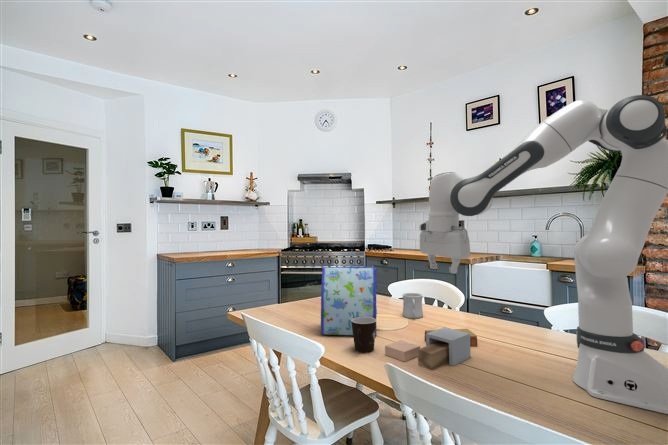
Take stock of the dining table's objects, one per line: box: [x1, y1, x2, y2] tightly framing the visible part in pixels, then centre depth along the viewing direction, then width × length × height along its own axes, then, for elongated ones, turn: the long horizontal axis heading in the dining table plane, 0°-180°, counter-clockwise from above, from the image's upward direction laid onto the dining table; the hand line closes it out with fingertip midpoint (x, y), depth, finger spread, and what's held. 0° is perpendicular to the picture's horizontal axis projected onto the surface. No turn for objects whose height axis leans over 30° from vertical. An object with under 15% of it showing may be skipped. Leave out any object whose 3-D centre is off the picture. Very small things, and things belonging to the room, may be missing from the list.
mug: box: [402, 292, 424, 319], centre depth 162 cm, size 12×9×10 cm
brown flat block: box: [424, 328, 478, 348], centre depth 126 cm, size 8×16×4 cm, turn 92°
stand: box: [384, 340, 421, 362], centre depth 115 cm, size 8×8×3 cm
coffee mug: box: [351, 317, 377, 354], centre depth 120 cm, size 12×9×10 cm
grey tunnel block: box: [425, 327, 472, 367], centre depth 113 cm, size 9×10×8 cm
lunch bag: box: [320, 265, 378, 337], centre depth 143 cm, size 22×17×26 cm
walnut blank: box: [417, 341, 449, 371], centre depth 109 cm, size 5×13×5 cm, turn 129°
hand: (443, 270), depth 109 cm, fingers open, 8 cm apart
